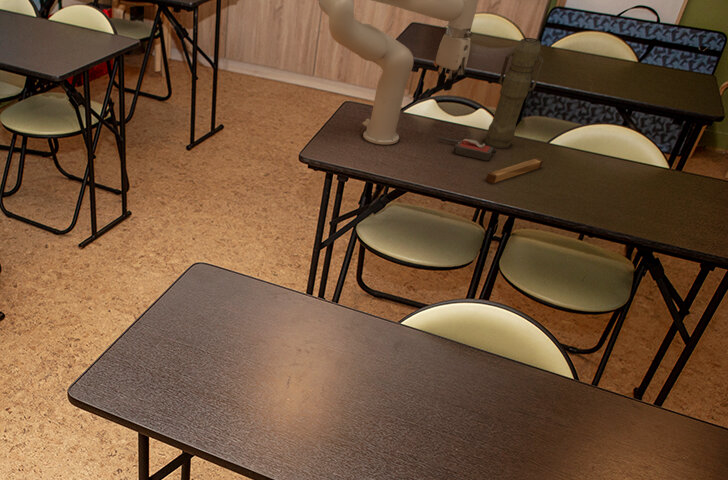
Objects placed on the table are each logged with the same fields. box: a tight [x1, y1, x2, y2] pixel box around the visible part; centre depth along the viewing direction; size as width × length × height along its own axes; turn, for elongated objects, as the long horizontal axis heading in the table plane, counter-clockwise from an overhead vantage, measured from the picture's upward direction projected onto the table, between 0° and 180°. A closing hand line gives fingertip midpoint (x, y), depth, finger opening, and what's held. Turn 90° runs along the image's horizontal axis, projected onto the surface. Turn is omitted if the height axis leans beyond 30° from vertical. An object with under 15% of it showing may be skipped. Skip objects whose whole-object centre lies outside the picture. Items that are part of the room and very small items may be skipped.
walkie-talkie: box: [439, 136, 497, 161], centre depth 238 cm, size 9×4×20 cm
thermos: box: [484, 37, 544, 149], centre depth 234 cm, size 9×12×35 cm
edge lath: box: [485, 157, 544, 184], centre depth 226 cm, size 3×24×3 cm, turn 122°
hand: (443, 88), depth 239 cm, fingers closed
